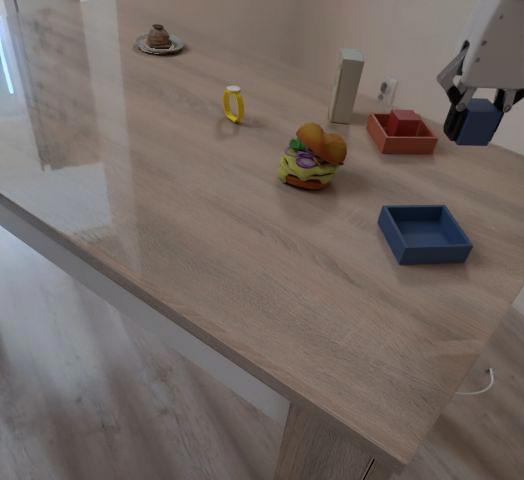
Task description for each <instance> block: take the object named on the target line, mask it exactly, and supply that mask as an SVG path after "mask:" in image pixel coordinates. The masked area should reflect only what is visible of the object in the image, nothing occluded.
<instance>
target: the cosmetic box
mask: <svg viewBox="0 0 524 480" xmlns="http://www.w3.org/2000/svg"><path fill="white" fill-rule="evenodd" d="M364 64H365V56H364V54H363V50H362V49H358V48H349V47H343V46H342V47H340V51H339V55H338V61H337V66H336V71H335V76H334V80H333V85H332V91H331V94H330V101H329V104H328V117H329V122H331V123H339V124H347V125H349V124H350V122H351V118H352V114H353V111H354V106H355V102H356V98H357V94H358V90H359V85H360V81H361V78H362V73H363V70H364V66H365V65H364Z"/></svg>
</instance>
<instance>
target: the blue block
mask: <svg viewBox="0 0 524 480" xmlns="http://www.w3.org/2000/svg"><path fill="white" fill-rule="evenodd" d="M465 111H466V112H467V115H466V118H465V120H464V123H463V125H462V127H461V130H460V132H459V135H458V137H457V140H455V141H453V142H454V143H455V144H456V146H463V147H464V146H465V147H466V146H467V147H488V145H489V143H490V142H491V141H490V139H491V136H492V134H493V132H494V130H495V128H496V126H497V123H498V121H499V119H500V117H501V115H502V112H500V111H499V110H498V109H497V108H496V107H495V106H494V105H493V104H492V101H490V100H489V98H482V97H481V98H479V97H472V98H471V100H470V101H469V103H468V105H467V106H466V108H465ZM489 141H490V142H489Z"/></svg>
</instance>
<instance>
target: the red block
mask: <svg viewBox="0 0 524 480" xmlns="http://www.w3.org/2000/svg"><path fill="white" fill-rule="evenodd" d="M390 113H391V114H390V117H389V121H388V124H387V128H386V131H385V132H386V134H387V135H388V136H395V137H415V136H416V133H417V130H418V127H419V124H420V121H421V120H420V119H419V117H418V116H417V115H416V114H417V113H416V112H415V110H414V109H391V110H390Z"/></svg>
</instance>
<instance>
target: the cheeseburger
mask: <svg viewBox="0 0 524 480" xmlns="http://www.w3.org/2000/svg"><path fill="white" fill-rule="evenodd" d="M295 136H296V139H295V138H292V139H291V140H289V142H288V145H289V146H287V147H285V149H284V151H283V154H282V155H281V157H280V159H279V167H278V170H277V175H278V178H279V179H280V181H281V182H282V183H283V184H286V183H288V184H289V185H294V186H296V187H300V188H304V189H308V190H309V189H310V190H319V189H324V188H325V187H327V186H328V185H329V184H330V183H331V181H332V179H333V178H334V176H335V175H336V172H337V171H338V169H339V167H342V166H344V165H345V163H344V162H345V160H346V157H347V155H348V145H347V143H346V141H345V139H344V138H343V137H342V136H341V135H340V134H337V133H328V132H326V131H324V128H323V127H322V126H321V125H320V124H318V123H316V122H313V121H311V122H306V123H305V124H302V125H301V126H300V127H299V128H298V129H297V130H296V132H295Z"/></svg>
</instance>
